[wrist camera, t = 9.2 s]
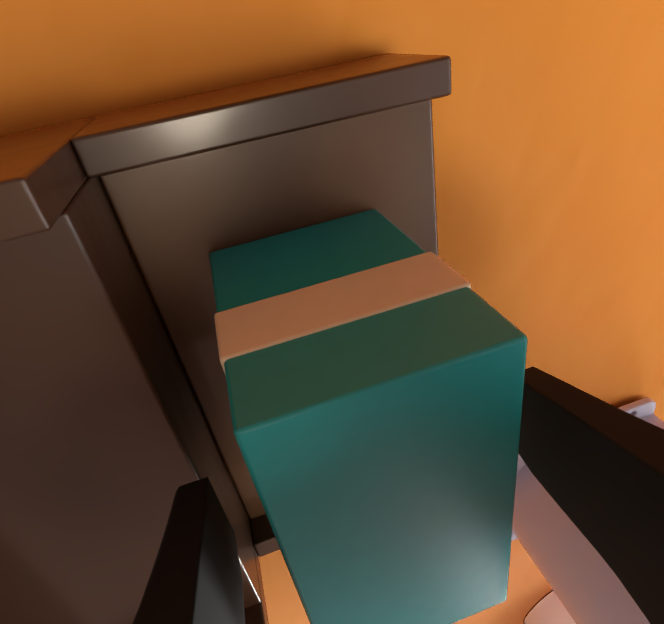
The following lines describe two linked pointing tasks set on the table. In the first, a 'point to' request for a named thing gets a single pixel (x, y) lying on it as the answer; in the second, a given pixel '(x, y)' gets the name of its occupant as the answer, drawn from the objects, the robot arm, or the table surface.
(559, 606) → the bracket
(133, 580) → the step shelf
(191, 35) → the table surface
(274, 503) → the block
